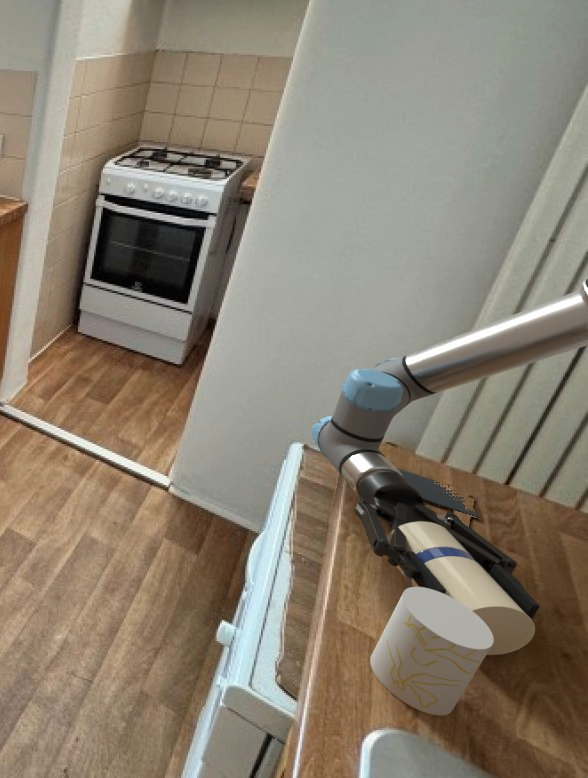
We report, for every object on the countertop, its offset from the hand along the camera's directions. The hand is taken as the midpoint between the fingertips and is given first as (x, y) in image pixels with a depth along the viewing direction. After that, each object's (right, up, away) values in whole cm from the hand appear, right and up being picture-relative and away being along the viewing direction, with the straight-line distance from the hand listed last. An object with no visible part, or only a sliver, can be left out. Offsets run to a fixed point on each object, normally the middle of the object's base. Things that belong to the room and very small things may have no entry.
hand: (485, 604), depth 81 cm
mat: (+20, +4, +27) cm, 34 cm away
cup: (-14, -8, -4) cm, 16 cm away
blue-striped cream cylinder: (+1, -4, +6) cm, 7 cm away
